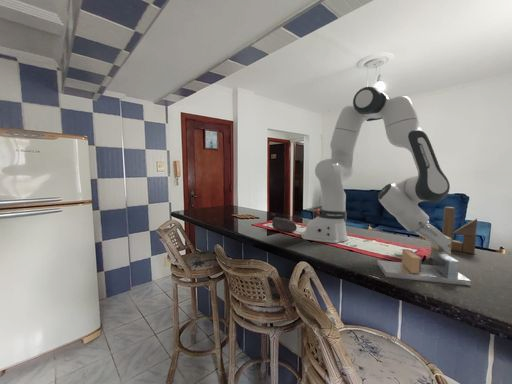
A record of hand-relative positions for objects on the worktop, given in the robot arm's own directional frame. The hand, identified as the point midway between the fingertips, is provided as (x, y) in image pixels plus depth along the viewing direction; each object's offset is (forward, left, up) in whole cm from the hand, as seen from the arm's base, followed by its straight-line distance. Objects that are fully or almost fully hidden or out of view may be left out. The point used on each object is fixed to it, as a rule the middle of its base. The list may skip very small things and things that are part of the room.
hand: (442, 247), depth 85 cm
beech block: (-1, 0, -5) cm, 5 cm away
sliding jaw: (-16, -16, -3) cm, 23 cm away
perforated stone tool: (-63, +28, -5) cm, 69 cm away
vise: (-14, -16, -5) cm, 22 cm away
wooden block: (+12, +15, -5) cm, 20 cm away
